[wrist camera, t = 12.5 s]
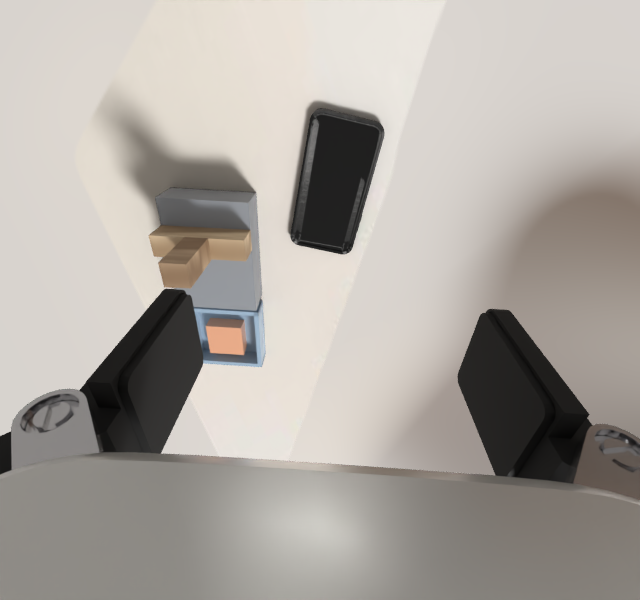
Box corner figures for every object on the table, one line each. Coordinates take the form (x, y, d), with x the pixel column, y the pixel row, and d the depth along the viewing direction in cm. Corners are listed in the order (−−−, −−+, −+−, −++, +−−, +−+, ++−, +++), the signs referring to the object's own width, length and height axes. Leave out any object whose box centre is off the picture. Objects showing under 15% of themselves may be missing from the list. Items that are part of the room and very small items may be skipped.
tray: (191, 295, 47) (183, 307, 44) (262, 300, 47) (258, 312, 44) (202, 349, 52) (195, 362, 50) (265, 353, 52) (261, 367, 50)
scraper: (161, 224, 37) (116, 260, 30) (250, 229, 37) (228, 266, 29) (166, 245, 38) (124, 284, 31) (251, 250, 38) (231, 290, 31)
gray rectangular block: (170, 187, 39) (155, 197, 35) (256, 192, 39) (248, 202, 35) (190, 289, 46) (179, 305, 43) (262, 294, 46) (256, 310, 43)
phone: (289, 243, 41) (312, 106, 33) (290, 239, 42) (313, 105, 34) (350, 256, 42) (388, 124, 34) (350, 252, 43) (387, 123, 35)
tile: (210, 352, 49) (214, 344, 51) (243, 354, 49) (246, 346, 51) (205, 326, 47) (210, 317, 48) (241, 328, 47) (244, 319, 48)
